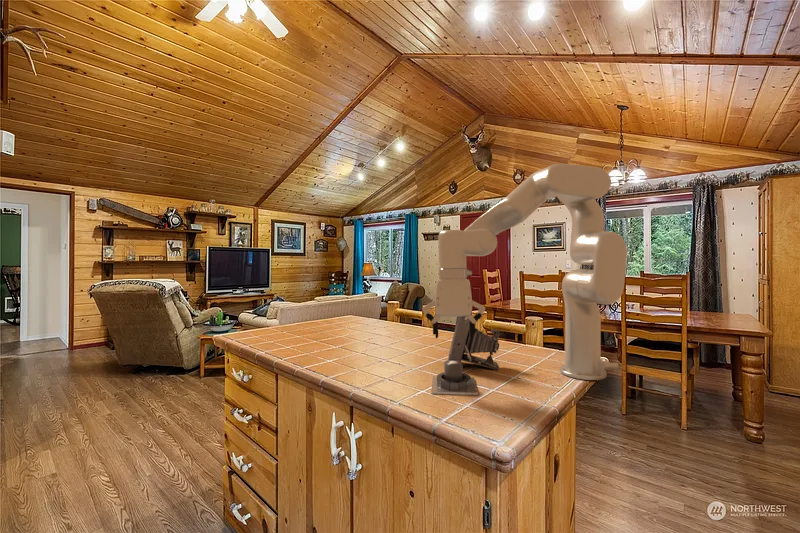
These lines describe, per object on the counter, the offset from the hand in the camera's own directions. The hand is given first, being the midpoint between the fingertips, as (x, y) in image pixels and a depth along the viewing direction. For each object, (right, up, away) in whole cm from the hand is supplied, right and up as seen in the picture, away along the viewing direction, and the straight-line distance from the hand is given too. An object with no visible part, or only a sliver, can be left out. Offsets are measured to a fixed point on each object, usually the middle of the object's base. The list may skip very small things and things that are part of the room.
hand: (453, 337), depth 99 cm
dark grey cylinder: (0, -13, 0) cm, 13 cm away
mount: (0, -14, 0) cm, 14 cm away
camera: (+9, -13, +19) cm, 25 cm away
